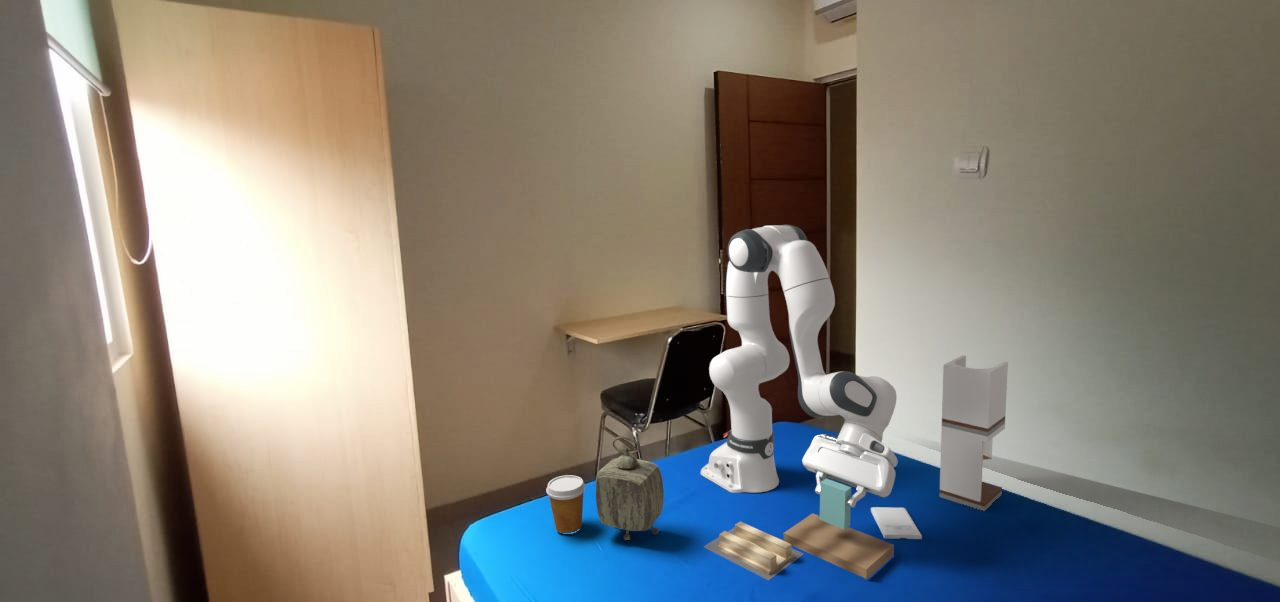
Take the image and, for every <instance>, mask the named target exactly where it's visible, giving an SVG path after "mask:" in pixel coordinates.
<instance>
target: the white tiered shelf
mask: <svg viewBox="0 0 1280 602" xmlns="http://www.w3.org/2000/svg"><path fill="white" fill-rule="evenodd" d="M966 364H967V355H960V356H958V357H956V358H954V359H952V360H951V361H948V362H946V363H944V364H943V365H942V366H943V369H942V370H943V371H942V373H943V375H942V402H941V403H942V405H941V406H942V408H941V430H940V431H941V433H940V436H941V437H940V439H941V440H940V468H939V469H940V470H939V498H942V499H945V500H947V501H952V502H955V503H957V504H961V505H963V504H964V506H966V505H967V507H969V506H970V508H972V507H973V508H972V509H976V508H977V509H976V510H979V509H980V510H979V511H982V510H983V511H982V512H985V511H986V510H988V508H990V507H991V506H992V503H993V502H994V501H995V500H996V499H997V500H998V499H999V498H1000V497H1001V496H1002V495H1003V492H1002V491H1003V487H1002V486H998V485H995V484H992V483H988V482H985V481H983V464H984V463H983V461H985V460H992V459H993V441H994V438H995V437H996V436H997V435H999V434H1000V433H1001V432H1003V431H1004V430H1005V428H1006V413H1007V412H1006V411H1007V393H1008V392H1007V389H1008V385H1007V384H1008V371H1009V361H1003V362H1001V363H999V364H997V365H995V366H994V367H989V368H972V367H967V365H966ZM997 500H996V501H997ZM996 501H995V502H996ZM995 502H994V503H995ZM994 503H993V504H994Z"/></svg>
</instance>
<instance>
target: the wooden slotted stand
mask: <svg viewBox="0 0 1280 602" xmlns="http://www.w3.org/2000/svg"><path fill="white" fill-rule="evenodd" d="M727 532H729V533H731V534H733V535H735V527H732V528H731V529H729V530H728V531H727ZM718 545H720V540H719V536H718V537H717V538H715V539H714V540H712V541H710V542H708V543H707V544H706V545H704V546H703V548H704V549H707V550H708V551H710V552H712V553H713V554H716V555H718V556H720V557H722V558H724V559H726V560H727V561H729V562H732V563H733V564H735V565H737V566H740V567H741V568H743V569H745V570H747V571H749V572H752V574H754V575H757V576H759V577H760V578H762V579H765V580H767V581H770V580H771V579H772V578H774V577H776V576H777V575H778V574H779V573H780V572H782V571H784V569H786V568H787V567H790V565H791V564H793V563H794V562H795V561H797V560H798V559H800V558H801V557H802V556H803V555H804V553H803V552H801V551H799V550H796V549H794V548H793V547H791V550H792V553H794V557H793V558H791V559H790V560H789V561H787V562H786V563H785V564H783V565H782V566H780V567H779V568H778V569H776V570H775V571H774V572H772V573H771V574H770V575H768V574H766V573H764V572H762V571H760V570H758V569H756V568H754V567H752V566H750V565H748V564H746V563H744V562H742V561H740V560H738V559H736V558H734V557H732V556H730V555H728V554H726V553H724V552H722V551H720V550H718V547H717V546H718Z"/></svg>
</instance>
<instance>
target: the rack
mask: <svg viewBox="0 0 1280 602" xmlns="http://www.w3.org/2000/svg"><path fill="white" fill-rule="evenodd" d="M734 528H735V535H733V534H731V533H729V532H728V531H726V530H723V531H722V532H721V533H719V535H718V537H719V540H720V545H718V546H717V547H718V550H720V551H722V552H724V553H726V554H728V555H730V556H732V557H734V558H736V559H738V560H740V561H742V562H744V563H746V564H748V565H750V566H752V567H754V568H756V569H758V570H760V571H762V572H764V573H766V574H768V575H770V574H771V573H772V572H774V571H775V570H776V569H778V568H779V567H780V566H782V565H783V564H785V563H786V562H787V561H789V560H790V559H791V558H793V557H794V553H792V550H791V548H792V545H791V544H790V543H787V542H785V541H784V539H780V538H778V537H776V536H774V535H771V534H769V533H767V532H765V531H763V530H760V529H758V528H756V527H754V526H751V525H749V524H747V523H745V522H742V521H739V522H737V523H735V524H734Z"/></svg>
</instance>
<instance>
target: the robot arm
mask: <svg viewBox="0 0 1280 602" xmlns="http://www.w3.org/2000/svg"><path fill="white" fill-rule="evenodd" d="M727 257H728V260H729V261H728V263H727V269H726V283H725V296H726V298H725V299H726V318H727V323H728V325H729V326H730V328H732V329H733V330H735V331H737V332H738V333H739V336H740V339H741V345H740V346H737V347H734V348H730V349H726V350H724V351H723V352H720V353H719V354H717V355H716V356H714V357H713V358H712V359H711V361H710V362H709V367H708V370H709V371H708V373H709V377H710V380H711V381H712V384H713V385H714V386H715V387H716V388H717V389H718V390H719V391H722V392H723V394H724V395H725V397H726V399H727V401H728V405H729V410H730V411H729V412H730V425H731V426H730V427H731V429H729V431H727V432H725V433H723V438H724V439H725V438H727V439H726V442H724V443H722V444H721V445H720V446H718V447H717V448H715V449H713V451H712V452H711V453H710V455H709V459H708V463H706V464H705V465H704V466H703V467H702V468H701V469H700V475H701V476H702V477H704V478H706V479H708V480H709V481H710V482H712V483H714V484H716V485H717V486H719V487H721V488H723V489H724V490H726V491H727V492H729V493H734V494H735V493H737V494H738V493H756V494H757V493H763V492H769V491H772V490H774V489H776V488H777V486H779V483H780V479H779V476H778V473H777V469H776V468H777V467H776V461H775V458H774V456H775V455H774V451H775V434H774V431H773V415H772V414H773V413H772V412H773V408H772V406H771V404H770V403H769V402H768V401H767V400H766V399H765V398H764V397H761V395H760V390H759V385H760V384H762V383H766V382H769V381H772V380H774V379H776V378H777V377H780V375H782V374H784V373H785V372H786V371H787V370H788V368H789V365H790V362H791V360H790V358H791V357H790V354H789V351H788V349H787V347H786V346H785V345H784V344H783V343H782V342H781V341H780V340H778V339H777V337H776V335H775V332H774V331H773V326H772V323H771V317H770V305H769V304H770V301H769V299H770V298H769V284H768V281H769V280H768V279H769V275H770V273H771V272H774V273H775V274H776V275H777V276H778V277H779V280H780V284H781V288H782V291H783V295H784V297H785V298H784V299H785V301H786V306H787V307H786V308H787V312H788V332H789V338H790V343H791V348H792V353H793V358H794V361H795V362H794V363H795V368H796V371H797V379H798V380H797V381H798V385H797V399H798V403H799V405H800V407H801V409H802V411H803V412H805V414H806V415H808V416H810V417H812V418H814V419H825V418H828V417H832V416H841V417H842V418H843V419H844V422H843V424H842V427H841V429H840V431H839V434H838V436H837V437H835V436H830V435H828V434H825V433H821V434H817V435H815V436H814V437H813V439H812V441H811V443H810V446H809V447H808V448H807V450H806V451H805V453H804V455H803V457H802V459H801V461H802V465H803V467H804V468H805V469H806V470H807V471H809V472H812V473H815V480H816V487H815V489H814V492H815V493H816V494H817V495H819V496H820V482H822V481H823V480H825V479H826V478H827V479H830V480H833V481H836V482H839V483H841V484H844V485H847V486H850V487H854V488H856V489H855V490H856V492H855V493H854V494H852V495H851V496H848V497H847V500H846V504H847V505H848V506H850V507H851V508H855V507H856V504H857V502H858V501H860V500H861V499H863V498H864V497H865V496H866V494H867V493H870V494H873V495H876V496H878V497H882V498H886V497H888V496H889V495H890V494H891V493H892V489H893V487H894V484H895V480H896V479H895V478H896V470H895V469H894V468H895V467H897V466H898V462H899V461H898V458H897V456H896V454H894V452H893V451H892V450H891V448H890V447H889V446H887V445H886V444H884V443H882V441H883V437H884V435H883V434H884V432H885V430H886V429H887V427H889V424H890V423H891V420H892V417H893V414H894V411H895V408H896V405H897V391H896V388H894V386H893V385H892V384H891V383H890V382H888V381H887V380H886V379H884V378H883V377H882V378H881V377H879V376H875V375H873V376H862V375H859V374H858V375H857V374H856V373H854V372H851V371H845V370H844V371H843V370H842V371H836V372H831V373H828V374H826V372H825V370H824V367H823V363H822V358H821V352H820V348H819V343H818V342H819V341H818V338H819V337H818V336H819V332H820V331H821V328H822V326H823V325H824V324H825V322H826V321H827V320H828V318H830V316H831V315H832V313H833V310H834V308H835V305H836V302H835V301H836V299H835V291H834V286H833V284H832V282H831V279H830V275H829V272H828V270H827V268H826V265H825V263H824V261H823V258H822V256H821V255H820V253H819V250H817V247H816V246H815V244H813V243H812V242H811V241H809V240H808V238H807V236H806V234H805V232H804V231H803V230H802V229H801V228H800V227H798V226H795V225H792V224H781V225H776V224H775V225H763V226H762V227H755V228H752V229H750V228H746V229H744V230H740V231H738V232H736V233H735V234H733V235H732V236H731V237H730V239H729V241H728V244H727Z"/></svg>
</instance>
